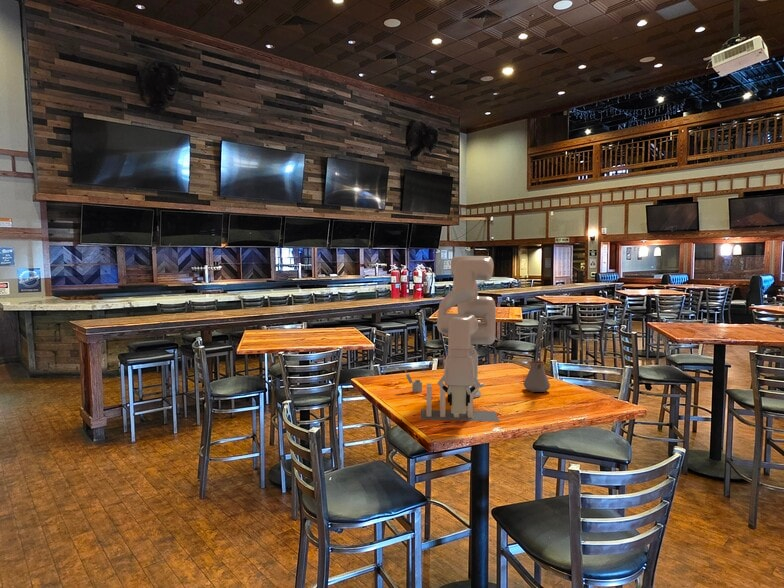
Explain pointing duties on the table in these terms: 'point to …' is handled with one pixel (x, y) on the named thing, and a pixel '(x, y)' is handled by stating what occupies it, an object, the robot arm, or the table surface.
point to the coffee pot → (536, 378)
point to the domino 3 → (458, 399)
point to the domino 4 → (470, 406)
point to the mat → (461, 416)
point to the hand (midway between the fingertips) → (458, 404)
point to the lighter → (415, 384)
